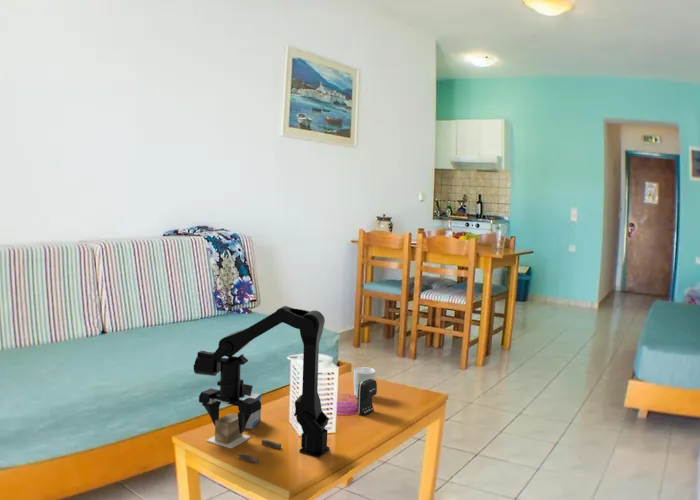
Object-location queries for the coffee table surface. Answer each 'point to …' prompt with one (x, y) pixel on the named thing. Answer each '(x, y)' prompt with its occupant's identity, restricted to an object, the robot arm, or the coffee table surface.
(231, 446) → the plate
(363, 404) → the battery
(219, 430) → the block
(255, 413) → the medicine box
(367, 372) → the white cup
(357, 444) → the coffee table surface
